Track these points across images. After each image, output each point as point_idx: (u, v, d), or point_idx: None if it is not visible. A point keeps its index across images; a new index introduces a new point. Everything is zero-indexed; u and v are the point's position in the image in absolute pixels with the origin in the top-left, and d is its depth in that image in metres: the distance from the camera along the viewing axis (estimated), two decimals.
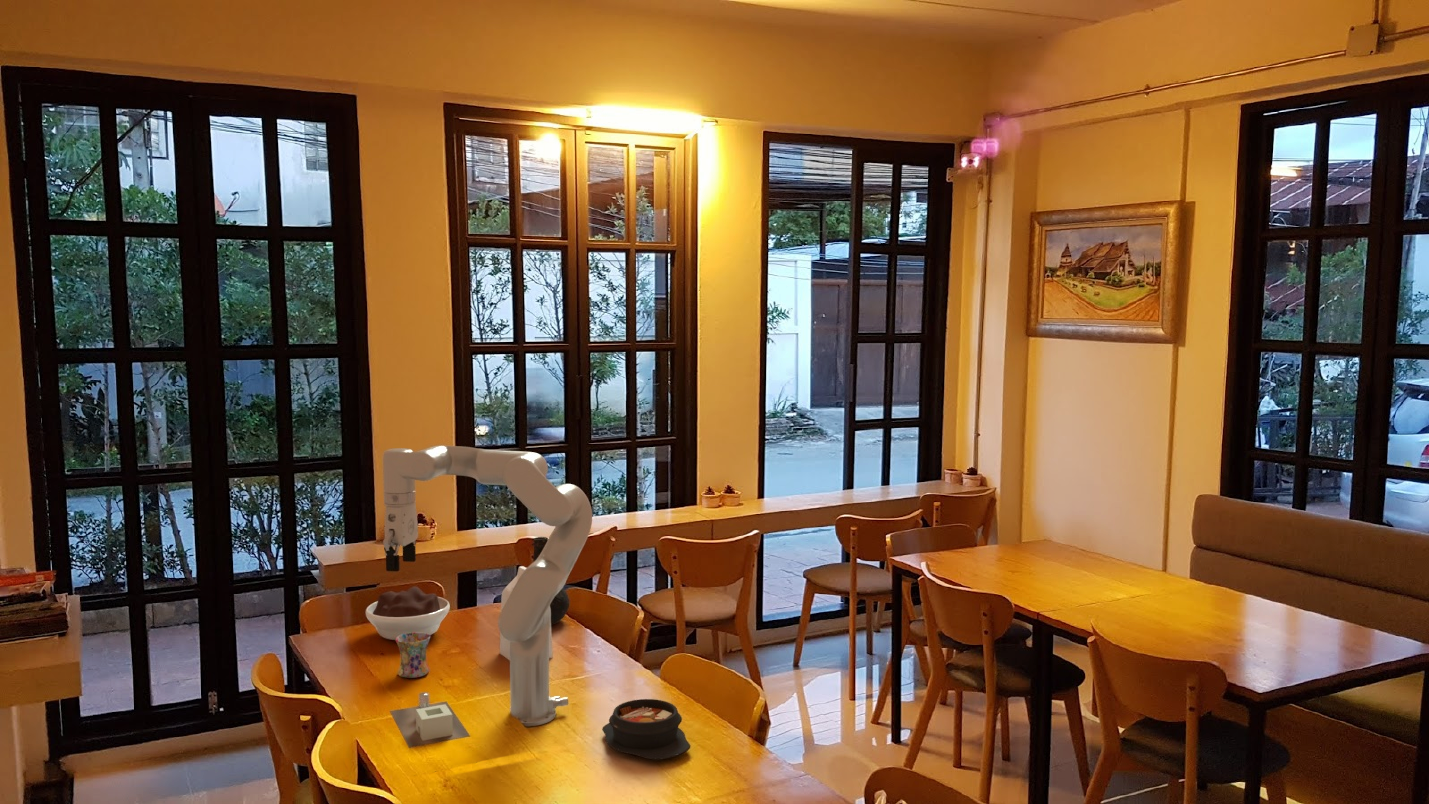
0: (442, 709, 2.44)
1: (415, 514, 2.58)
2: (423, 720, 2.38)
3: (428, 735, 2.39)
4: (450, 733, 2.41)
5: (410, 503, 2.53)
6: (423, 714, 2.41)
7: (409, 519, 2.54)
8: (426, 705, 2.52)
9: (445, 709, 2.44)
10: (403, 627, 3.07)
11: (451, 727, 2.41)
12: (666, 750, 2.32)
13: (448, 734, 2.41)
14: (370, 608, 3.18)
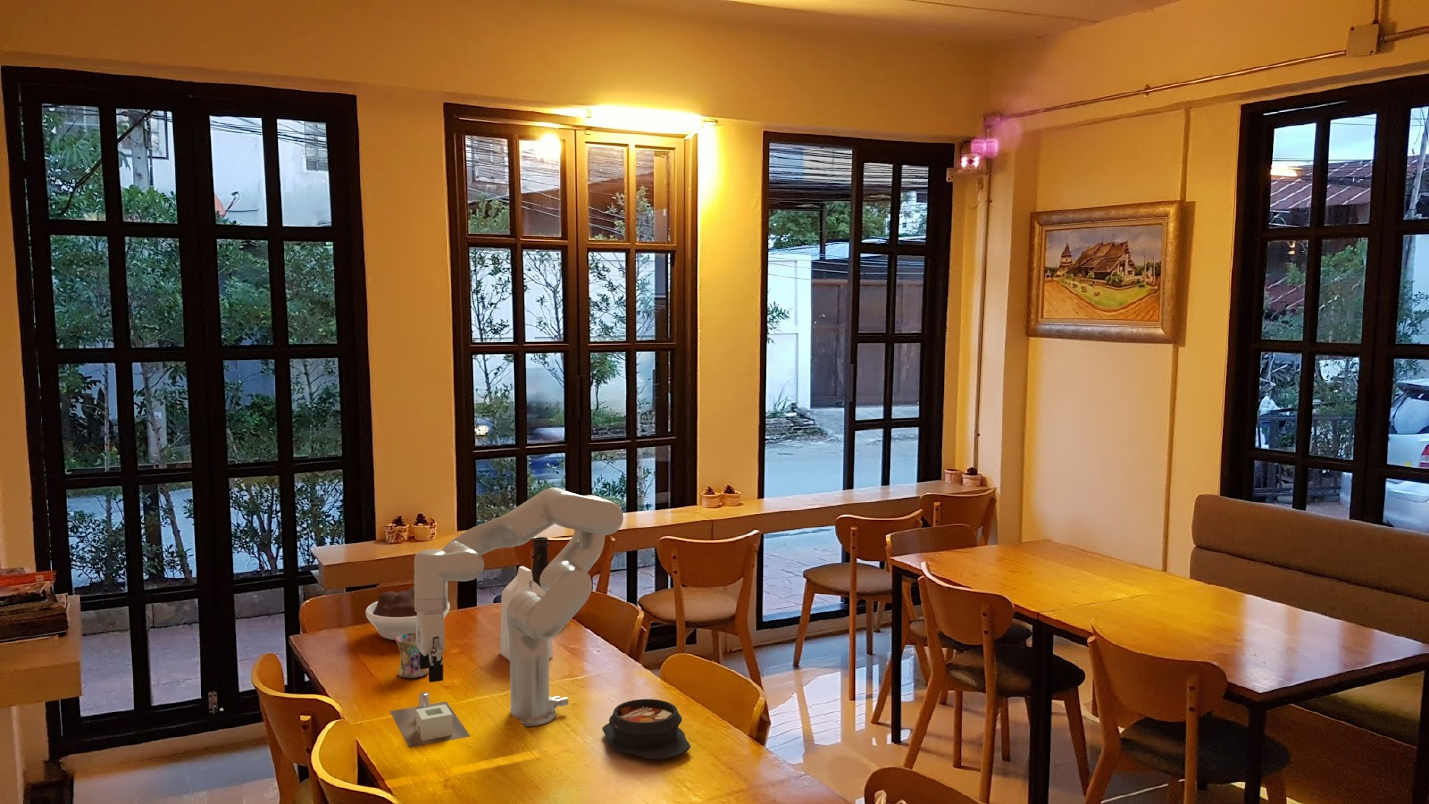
0: (442, 709, 2.44)
1: (422, 627, 2.36)
2: (423, 720, 2.38)
3: (428, 735, 2.39)
4: (450, 733, 2.41)
5: None
6: (423, 714, 2.41)
7: (418, 624, 2.40)
8: (426, 705, 2.52)
9: (445, 709, 2.44)
10: (403, 627, 3.07)
11: (451, 727, 2.41)
12: (666, 750, 2.32)
13: (448, 734, 2.41)
14: (370, 608, 3.18)
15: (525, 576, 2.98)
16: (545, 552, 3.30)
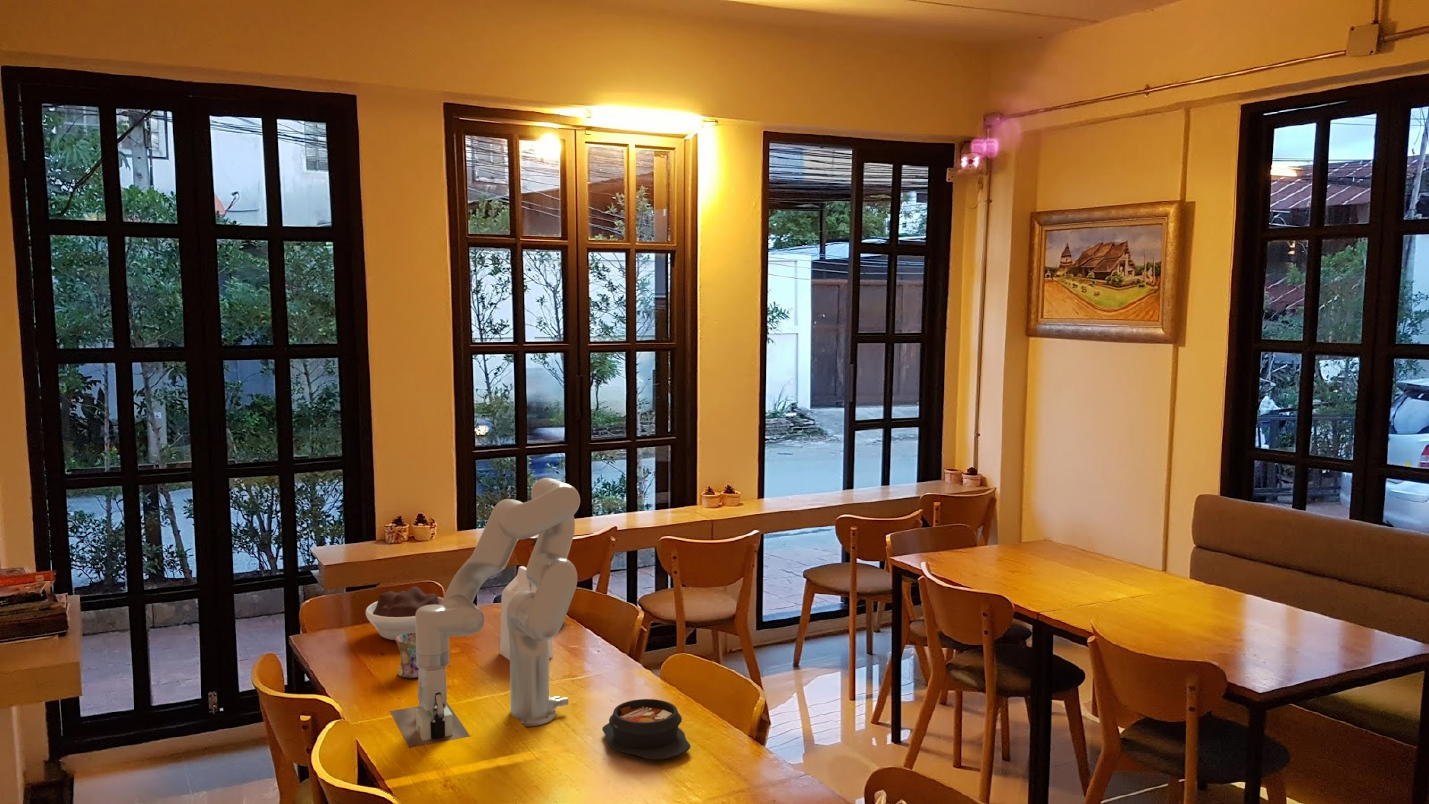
0: None
1: (424, 683, 2.38)
2: (423, 720, 2.38)
3: (428, 735, 2.39)
4: (450, 733, 2.41)
5: None
6: (423, 714, 2.41)
7: (420, 679, 2.41)
8: None
9: (445, 709, 2.44)
10: (403, 627, 3.07)
11: (451, 727, 2.41)
12: (666, 750, 2.32)
13: (448, 734, 2.41)
14: (370, 608, 3.18)
15: (525, 576, 2.98)
16: None
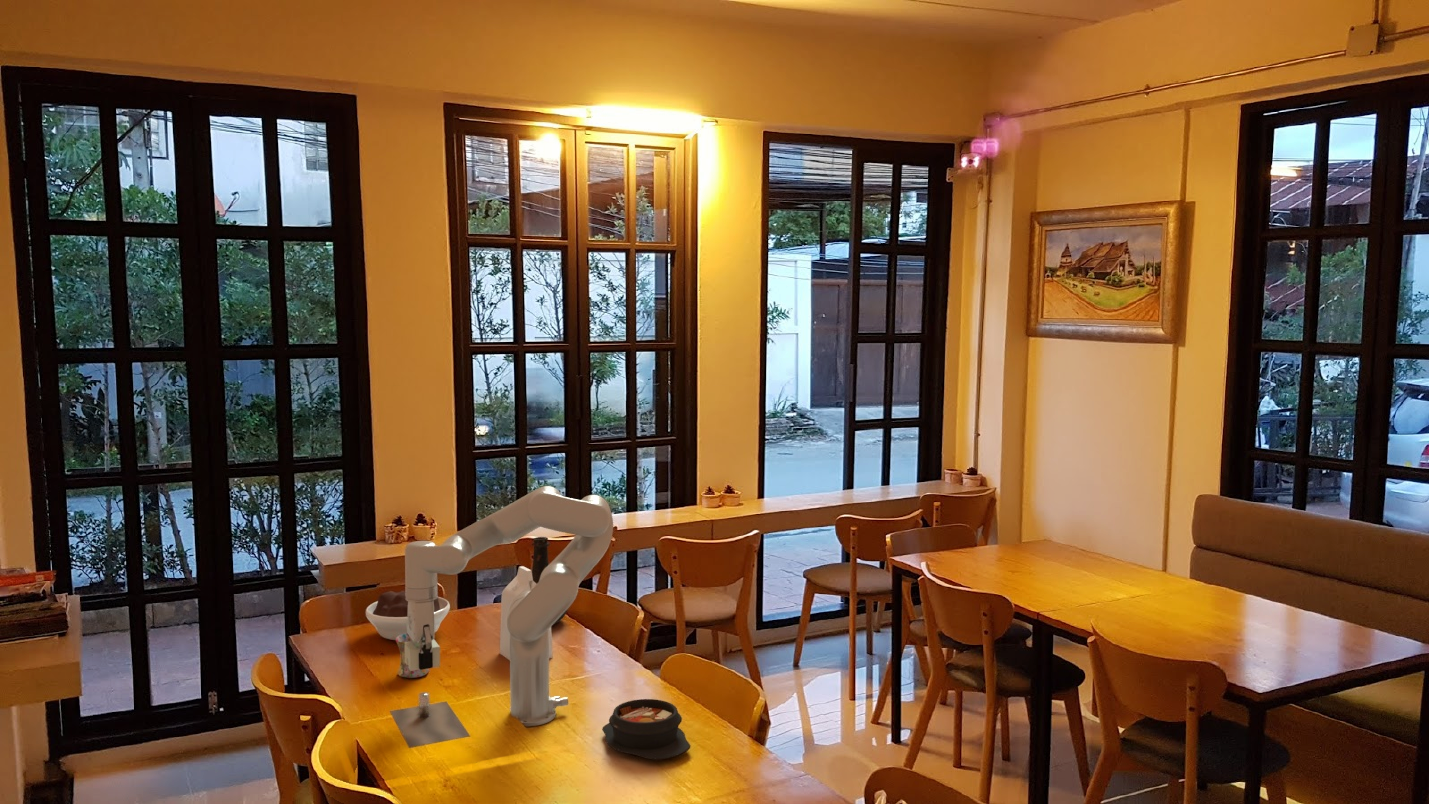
0: None
1: (413, 615, 2.46)
2: (411, 651, 2.46)
3: (416, 666, 2.47)
4: (437, 665, 2.50)
5: None
6: (411, 646, 2.50)
7: (409, 613, 2.50)
8: (426, 705, 2.52)
9: (433, 642, 2.53)
10: (403, 627, 3.07)
11: (438, 659, 2.50)
12: (666, 750, 2.32)
13: (435, 666, 2.50)
14: (370, 608, 3.18)
15: (525, 576, 2.98)
16: (545, 552, 3.30)
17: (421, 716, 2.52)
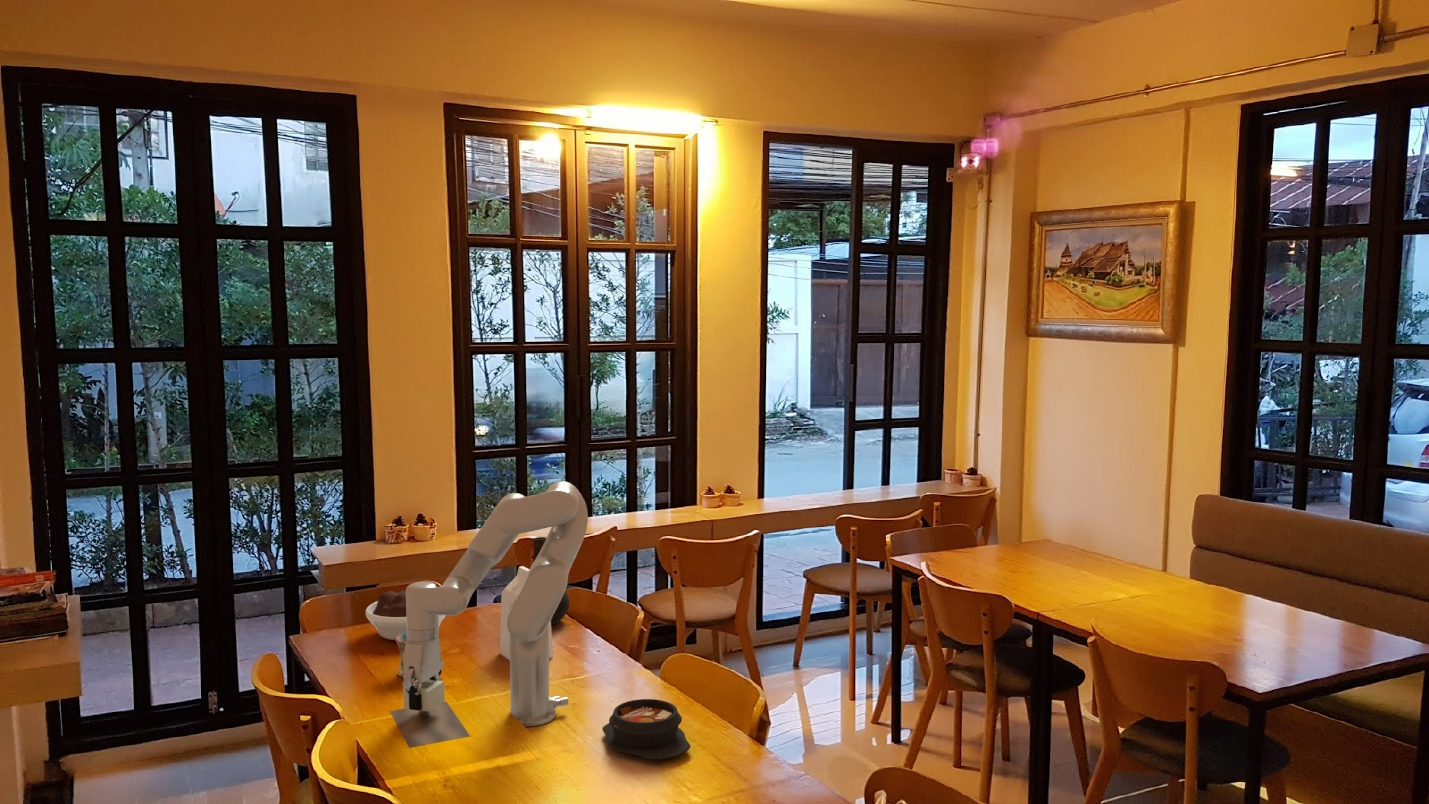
0: (432, 685, 2.52)
1: None
2: (404, 689, 2.50)
3: (408, 704, 2.50)
4: (426, 709, 2.48)
5: None
6: (414, 684, 2.53)
7: None
8: None
9: (435, 685, 2.52)
10: (403, 627, 3.07)
11: (427, 703, 2.48)
12: (666, 750, 2.32)
13: (425, 709, 2.48)
14: (370, 608, 3.18)
15: (525, 576, 2.98)
16: None
17: (421, 716, 2.52)
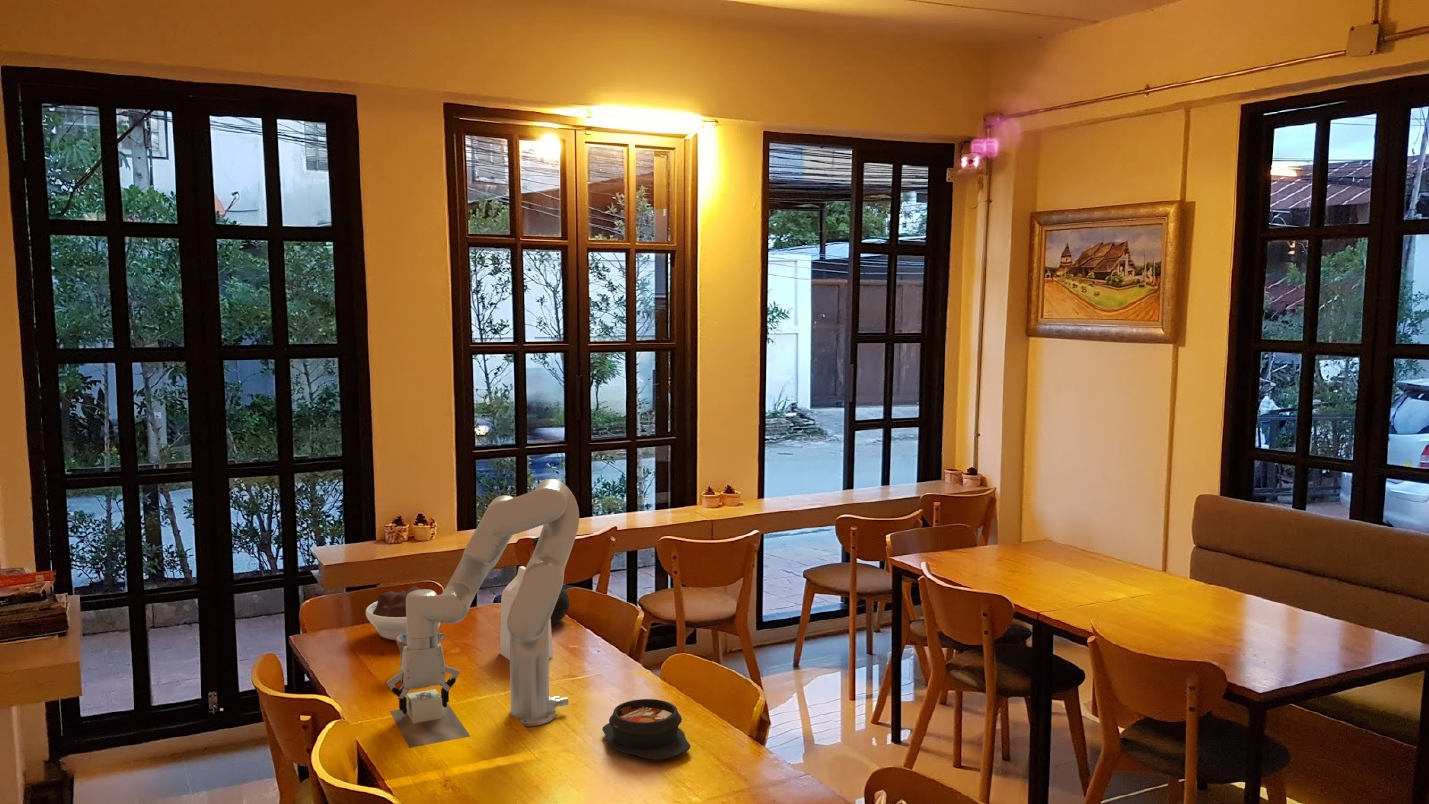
0: (428, 698, 2.51)
1: None
2: (407, 695, 2.54)
3: (408, 711, 2.53)
4: (412, 720, 2.48)
5: None
6: (421, 692, 2.54)
7: None
8: None
9: (428, 699, 2.50)
10: (403, 627, 3.07)
11: (412, 715, 2.48)
12: (666, 750, 2.32)
13: (412, 720, 2.49)
14: (370, 608, 3.18)
15: None
16: None
17: None
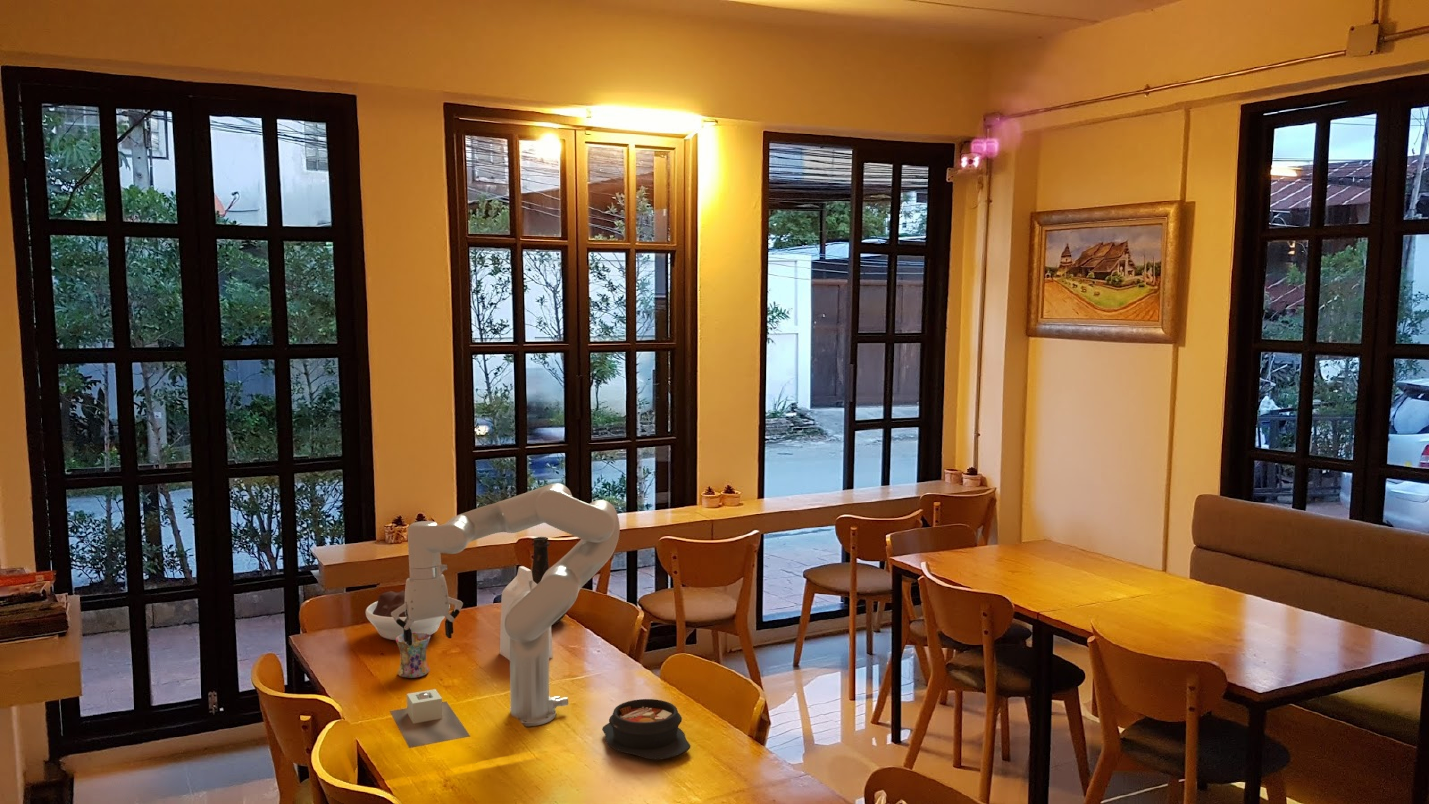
0: (428, 698, 2.51)
1: None
2: (407, 695, 2.54)
3: (408, 711, 2.53)
4: (412, 720, 2.48)
5: None
6: (421, 692, 2.54)
7: None
8: None
9: (428, 699, 2.50)
10: None
11: (412, 715, 2.48)
12: (666, 750, 2.32)
13: (412, 720, 2.49)
14: (370, 608, 3.18)
15: (525, 576, 2.98)
16: (545, 552, 3.30)
17: None
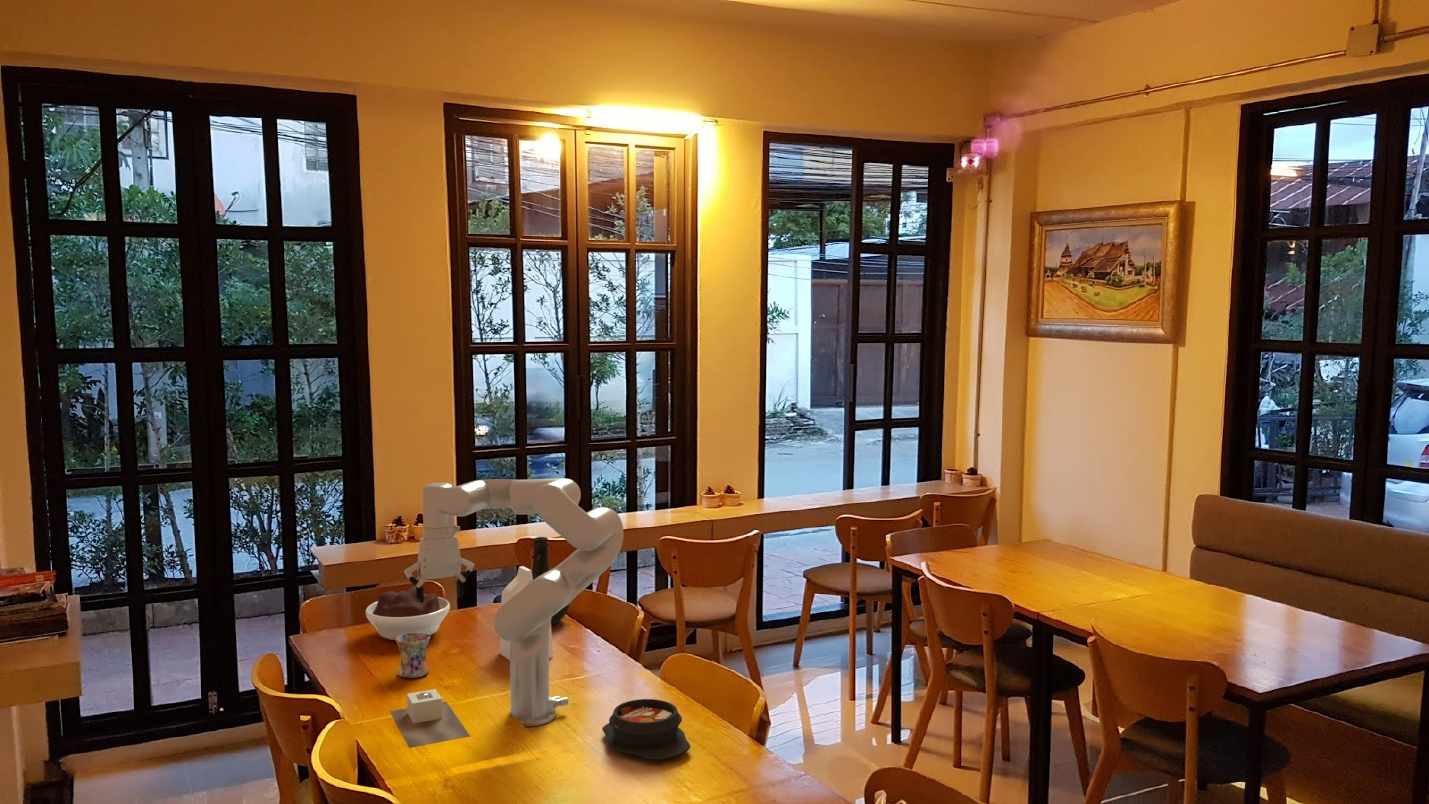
0: (428, 698, 2.51)
1: None
2: (407, 695, 2.54)
3: (408, 711, 2.53)
4: (412, 720, 2.48)
5: None
6: (421, 692, 2.54)
7: None
8: None
9: (428, 699, 2.50)
10: (403, 627, 3.07)
11: (412, 715, 2.48)
12: (666, 750, 2.32)
13: (412, 720, 2.49)
14: (370, 608, 3.18)
15: (525, 576, 2.98)
16: (545, 552, 3.30)
17: None
